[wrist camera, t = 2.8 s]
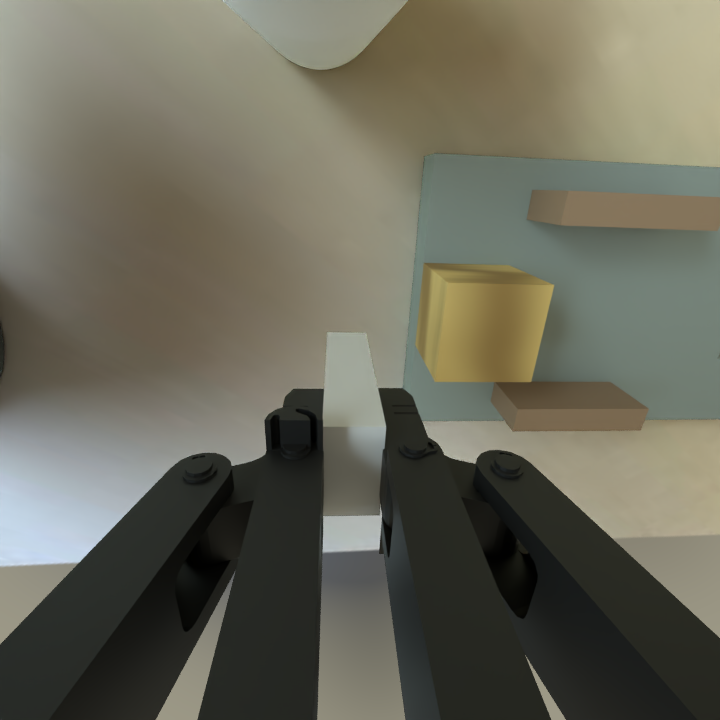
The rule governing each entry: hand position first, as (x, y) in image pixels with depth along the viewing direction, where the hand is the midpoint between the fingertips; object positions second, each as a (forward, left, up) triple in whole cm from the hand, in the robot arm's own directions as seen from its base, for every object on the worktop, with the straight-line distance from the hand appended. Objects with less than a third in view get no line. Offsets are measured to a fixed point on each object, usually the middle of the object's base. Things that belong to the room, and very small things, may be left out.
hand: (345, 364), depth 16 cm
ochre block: (+7, 0, -8) cm, 11 cm away
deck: (+18, 0, -11) cm, 21 cm away
